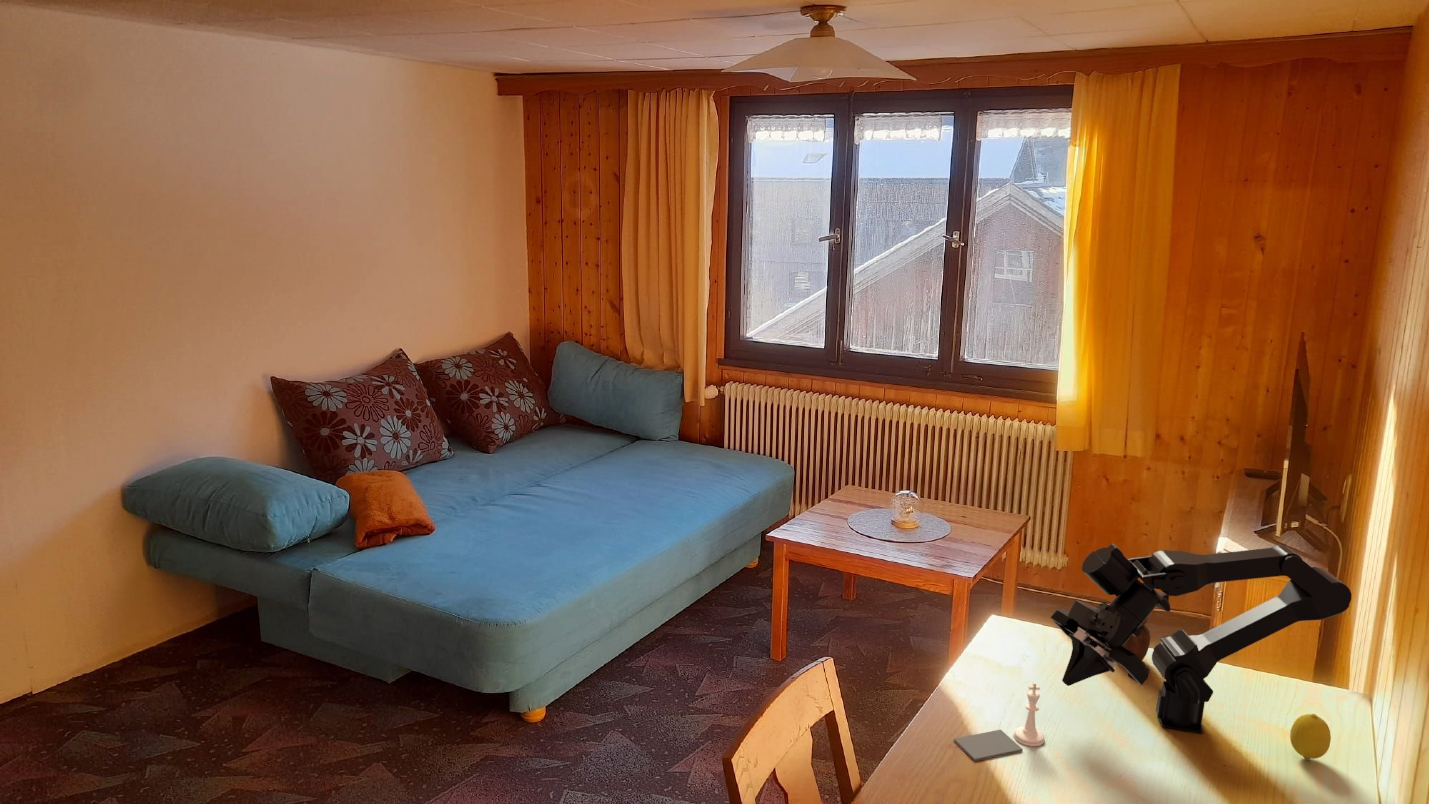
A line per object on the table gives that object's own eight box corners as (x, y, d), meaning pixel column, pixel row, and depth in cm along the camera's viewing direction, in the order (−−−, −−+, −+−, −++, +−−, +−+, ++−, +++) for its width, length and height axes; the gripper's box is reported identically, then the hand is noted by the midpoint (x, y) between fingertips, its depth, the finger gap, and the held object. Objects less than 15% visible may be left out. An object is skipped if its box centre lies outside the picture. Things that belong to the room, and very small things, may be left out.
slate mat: (1000, 731, 168) (1000, 729, 168) (1022, 751, 163) (1022, 749, 163) (953, 740, 165) (953, 738, 165) (974, 761, 160) (974, 758, 160)
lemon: (1325, 773, 158) (1334, 727, 157) (1285, 761, 161) (1293, 717, 159) (1326, 756, 163) (1334, 711, 161) (1287, 745, 166) (1295, 701, 164)
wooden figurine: (1145, 656, 195) (1155, 584, 192) (1147, 669, 190) (1157, 596, 186) (1108, 650, 197) (1117, 578, 194) (1109, 663, 192) (1118, 590, 189)
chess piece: (1048, 746, 164) (1054, 691, 162) (1018, 745, 164) (1023, 690, 162) (1039, 730, 169) (1045, 676, 167) (1010, 729, 169) (1015, 675, 167)
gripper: (1064, 564, 173) (1004, 632, 172) (1142, 609, 156) (1077, 685, 155) (1097, 600, 177) (1039, 667, 176) (1177, 648, 160) (1113, 722, 159)
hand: (1064, 683), depth 167 cm, fingers closed
